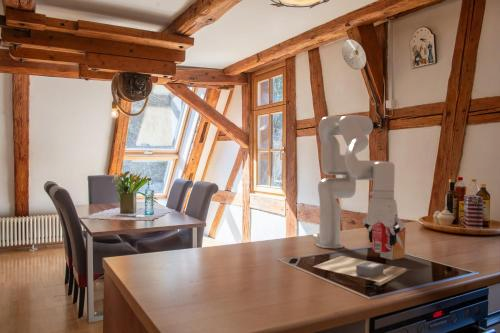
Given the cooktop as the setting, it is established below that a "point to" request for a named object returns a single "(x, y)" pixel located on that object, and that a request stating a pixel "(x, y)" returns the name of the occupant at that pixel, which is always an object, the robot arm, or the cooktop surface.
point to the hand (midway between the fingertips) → (382, 243)
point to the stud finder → (369, 269)
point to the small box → (397, 246)
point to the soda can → (381, 238)
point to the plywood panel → (349, 268)
